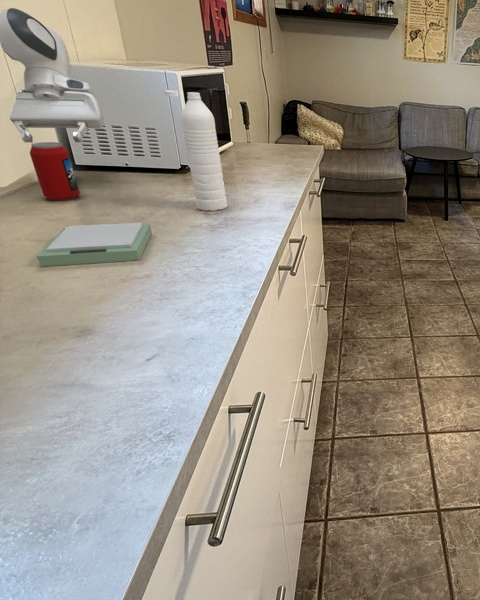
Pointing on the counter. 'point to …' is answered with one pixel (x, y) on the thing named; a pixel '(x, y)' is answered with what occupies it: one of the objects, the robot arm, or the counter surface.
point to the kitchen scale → (96, 244)
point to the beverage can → (54, 171)
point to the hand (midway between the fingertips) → (53, 140)
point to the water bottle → (202, 153)
